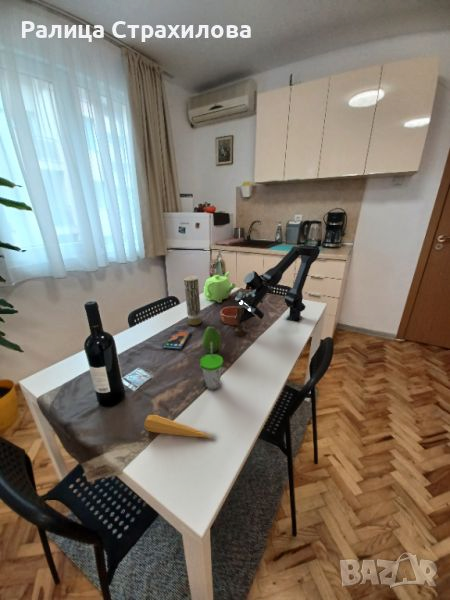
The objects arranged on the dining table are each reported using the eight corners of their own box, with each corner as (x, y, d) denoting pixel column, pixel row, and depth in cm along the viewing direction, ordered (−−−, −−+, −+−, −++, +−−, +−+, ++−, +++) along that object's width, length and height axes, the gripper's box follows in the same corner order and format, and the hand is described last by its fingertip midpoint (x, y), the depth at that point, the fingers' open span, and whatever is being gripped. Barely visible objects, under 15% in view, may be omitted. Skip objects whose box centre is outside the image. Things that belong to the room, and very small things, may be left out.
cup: (215, 396, 78) (213, 358, 72) (197, 387, 82) (193, 351, 76) (228, 382, 84) (227, 346, 78) (210, 374, 88) (207, 339, 82)
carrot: (144, 432, 67) (140, 427, 64) (151, 415, 70) (147, 410, 67) (212, 449, 64) (212, 444, 61) (216, 431, 67) (216, 426, 64)
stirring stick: (238, 330, 118) (238, 304, 112) (246, 332, 115) (246, 306, 110) (233, 334, 114) (233, 307, 109) (241, 336, 112) (241, 309, 107)
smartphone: (162, 346, 104) (175, 329, 118) (163, 349, 105) (175, 331, 118) (180, 347, 103) (191, 329, 116) (180, 350, 103) (191, 332, 117)
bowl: (229, 312, 137) (229, 304, 135) (249, 318, 130) (249, 309, 128) (215, 321, 127) (215, 313, 125) (236, 328, 120) (236, 319, 118)
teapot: (226, 308, 142) (225, 283, 136) (198, 301, 153) (196, 278, 147) (246, 295, 161) (246, 272, 155) (220, 290, 173) (219, 268, 166)
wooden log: (186, 324, 125) (181, 279, 115) (192, 319, 130) (188, 275, 121) (197, 326, 122) (193, 280, 113) (203, 321, 128) (200, 276, 118)
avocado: (207, 358, 97) (205, 332, 92) (200, 348, 104) (198, 324, 99) (224, 353, 100) (223, 328, 96) (217, 344, 107) (216, 320, 102)
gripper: (238, 279, 115) (218, 305, 115) (258, 291, 99) (235, 320, 99) (251, 292, 121) (232, 316, 121) (273, 305, 105) (251, 332, 105)
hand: (237, 320), depth 112 cm, fingers closed on stirring stick, 3 cm apart
